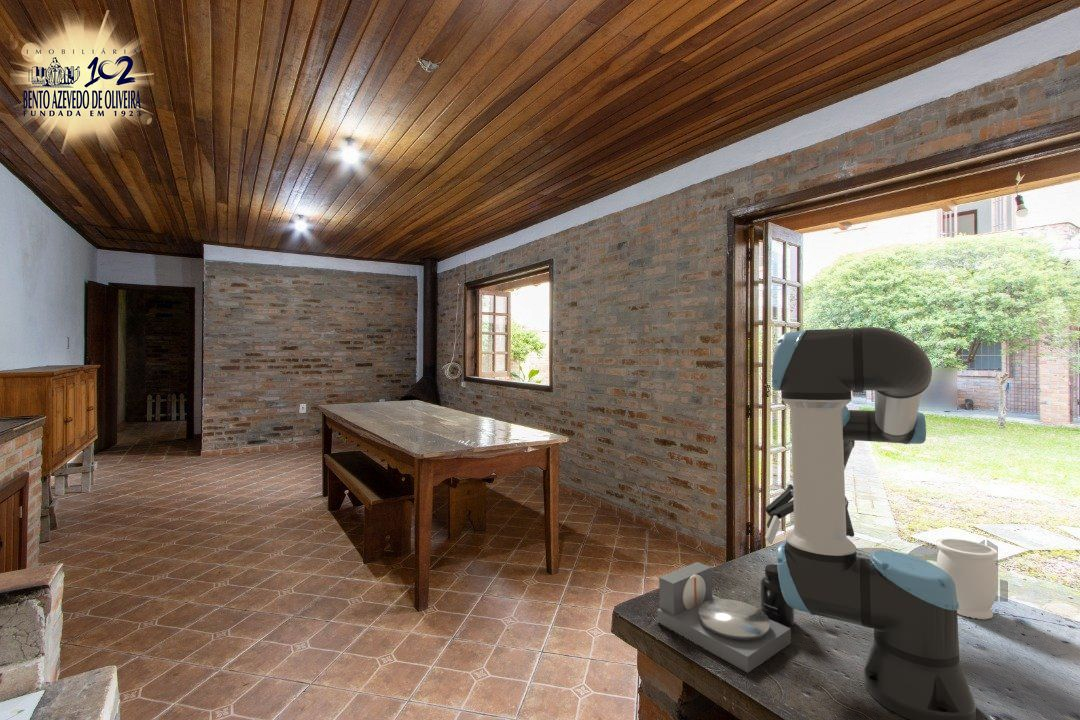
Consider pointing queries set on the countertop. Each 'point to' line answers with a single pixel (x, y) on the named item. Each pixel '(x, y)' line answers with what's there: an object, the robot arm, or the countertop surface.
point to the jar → (970, 575)
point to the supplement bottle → (775, 598)
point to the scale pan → (734, 619)
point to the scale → (681, 614)
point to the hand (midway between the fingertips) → (795, 549)
